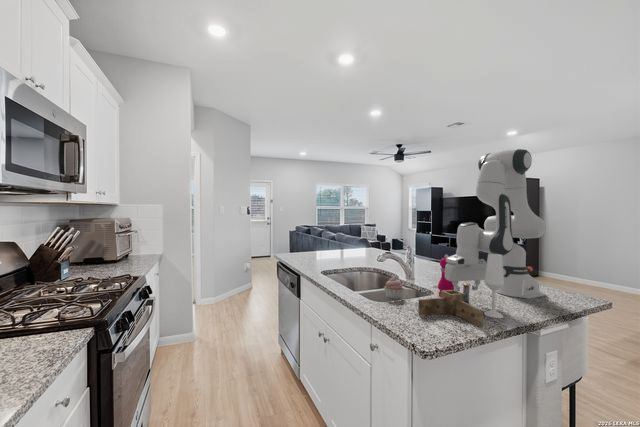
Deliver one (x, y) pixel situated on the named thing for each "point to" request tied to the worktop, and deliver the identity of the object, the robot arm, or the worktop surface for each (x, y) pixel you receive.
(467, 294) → the hinge pin
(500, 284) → the champagne flute
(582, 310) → the worktop surface
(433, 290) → the worktop surface
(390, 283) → the cupcake
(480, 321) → the hinge
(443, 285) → the pepper mill
